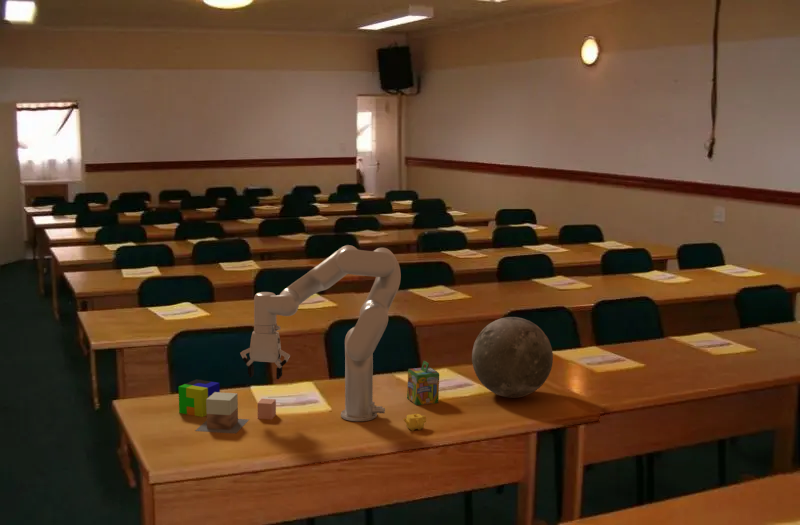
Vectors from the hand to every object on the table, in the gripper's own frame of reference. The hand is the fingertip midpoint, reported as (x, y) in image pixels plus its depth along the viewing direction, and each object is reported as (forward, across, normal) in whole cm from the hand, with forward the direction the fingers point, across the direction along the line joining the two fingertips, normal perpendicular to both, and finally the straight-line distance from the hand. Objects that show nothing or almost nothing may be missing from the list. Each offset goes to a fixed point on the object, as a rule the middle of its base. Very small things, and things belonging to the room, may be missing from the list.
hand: (265, 377), depth 303 cm
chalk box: (+14, -52, -28) cm, 60 cm away
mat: (+15, +11, +11) cm, 21 cm away
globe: (+13, -84, -40) cm, 94 cm away
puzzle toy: (+15, +24, -2) cm, 29 cm away
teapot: (+14, -53, +3) cm, 55 cm away
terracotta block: (+14, -1, 0) cm, 15 cm away
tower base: (+14, +11, +11) cm, 21 cm away
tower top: (+9, +11, +11) cm, 18 cm away
